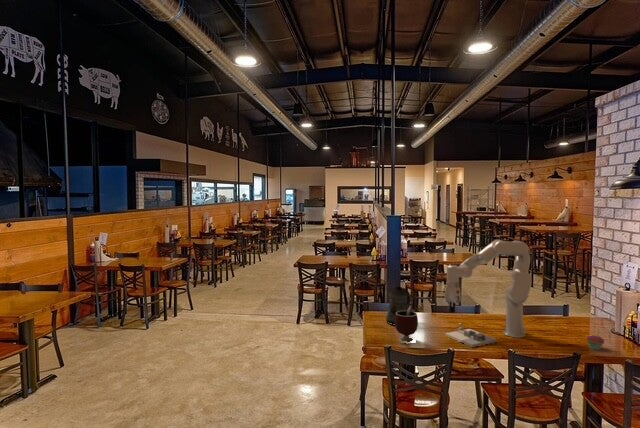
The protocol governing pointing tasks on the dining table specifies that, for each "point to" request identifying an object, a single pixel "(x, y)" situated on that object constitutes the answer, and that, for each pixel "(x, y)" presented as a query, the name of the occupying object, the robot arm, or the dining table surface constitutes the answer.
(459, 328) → the bolt
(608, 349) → the dining table surface
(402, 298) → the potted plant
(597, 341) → the cupcake
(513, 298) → the robot arm
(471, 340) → the grey flat board
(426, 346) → the dining table surface
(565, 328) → the dining table surface
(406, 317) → the mate gourd
